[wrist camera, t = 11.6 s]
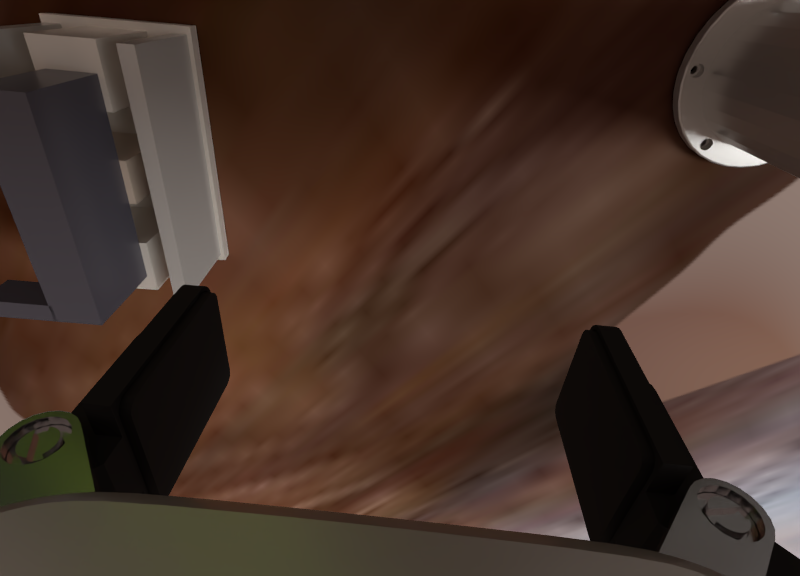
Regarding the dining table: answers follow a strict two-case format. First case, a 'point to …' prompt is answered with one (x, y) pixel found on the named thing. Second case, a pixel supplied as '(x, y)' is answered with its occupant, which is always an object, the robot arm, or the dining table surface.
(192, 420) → the robot arm
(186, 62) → the stand
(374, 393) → the dining table surface
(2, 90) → the grey bracket
